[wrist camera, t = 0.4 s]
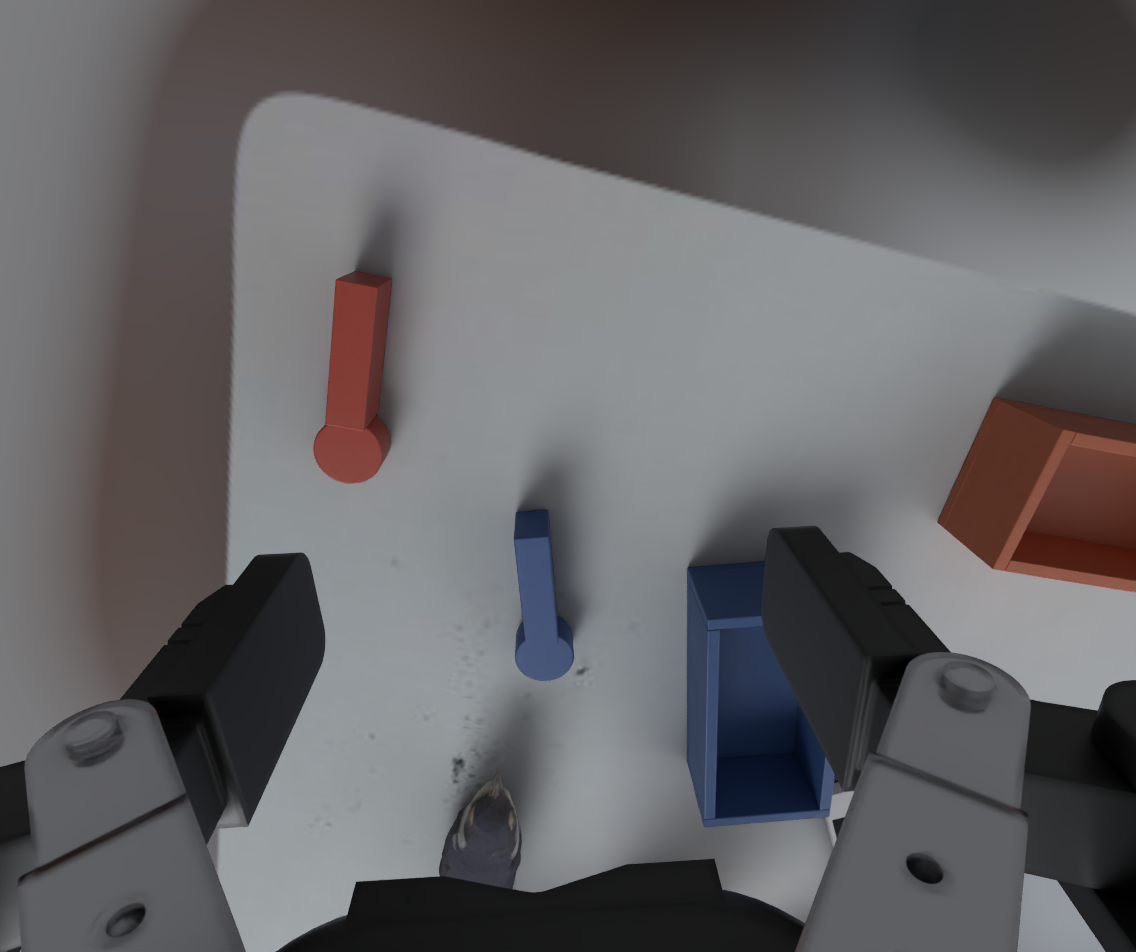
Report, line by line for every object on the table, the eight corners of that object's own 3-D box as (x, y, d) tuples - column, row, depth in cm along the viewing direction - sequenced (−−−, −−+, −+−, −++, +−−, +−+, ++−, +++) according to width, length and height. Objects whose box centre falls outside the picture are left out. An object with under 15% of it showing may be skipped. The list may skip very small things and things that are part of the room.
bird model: (430, 916, 44) (418, 1000, 40) (462, 722, 38) (452, 795, 33) (497, 921, 45) (493, 1005, 40) (540, 731, 39) (540, 804, 34)
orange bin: (936, 522, 34) (992, 569, 30) (993, 396, 32) (1063, 429, 27) (1166, 561, 36) (1250, 611, 31) (1238, 444, 33) (1340, 481, 29)
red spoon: (337, 267, 28) (317, 275, 26) (408, 281, 29) (396, 290, 26) (322, 462, 32) (303, 486, 29) (387, 473, 32) (373, 498, 29)
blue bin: (687, 567, 35) (707, 619, 30) (816, 556, 35) (855, 608, 30) (686, 760, 40) (703, 827, 36) (799, 751, 40) (829, 817, 36)
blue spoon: (501, 512, 33) (498, 540, 30) (562, 508, 33) (564, 535, 30) (518, 661, 37) (517, 697, 34) (574, 657, 37) (576, 692, 34)
